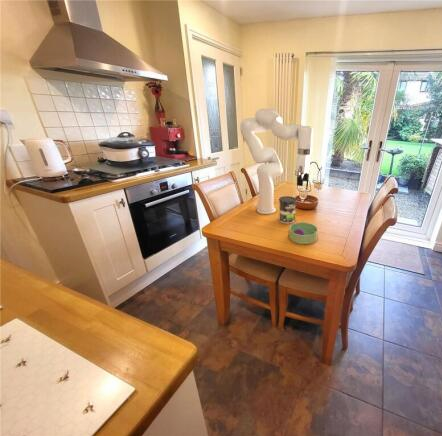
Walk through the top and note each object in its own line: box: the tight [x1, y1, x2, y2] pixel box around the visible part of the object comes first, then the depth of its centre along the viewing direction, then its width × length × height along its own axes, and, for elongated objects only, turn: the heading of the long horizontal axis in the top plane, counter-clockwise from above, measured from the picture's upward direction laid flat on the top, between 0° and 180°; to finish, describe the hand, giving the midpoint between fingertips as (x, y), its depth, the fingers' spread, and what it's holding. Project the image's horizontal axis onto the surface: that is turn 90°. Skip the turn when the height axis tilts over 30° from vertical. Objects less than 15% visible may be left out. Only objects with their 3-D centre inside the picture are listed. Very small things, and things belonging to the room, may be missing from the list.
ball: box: [295, 229, 304, 235], centre depth 125 cm, size 5×5×5 cm
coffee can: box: [278, 195, 297, 225], centre depth 144 cm, size 10×10×14 cm
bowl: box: [288, 221, 319, 245], centre depth 126 cm, size 15×15×6 cm
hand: (302, 183), depth 129 cm, fingers open, 9 cm apart
